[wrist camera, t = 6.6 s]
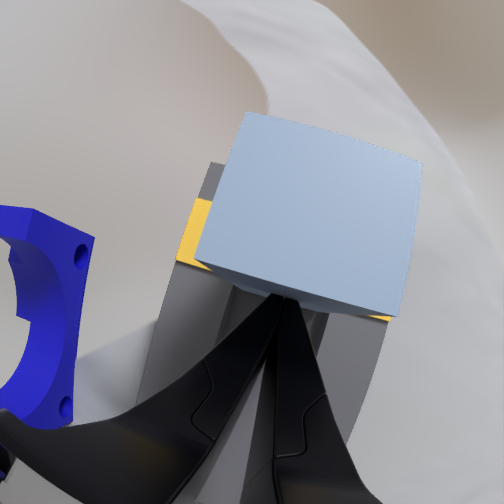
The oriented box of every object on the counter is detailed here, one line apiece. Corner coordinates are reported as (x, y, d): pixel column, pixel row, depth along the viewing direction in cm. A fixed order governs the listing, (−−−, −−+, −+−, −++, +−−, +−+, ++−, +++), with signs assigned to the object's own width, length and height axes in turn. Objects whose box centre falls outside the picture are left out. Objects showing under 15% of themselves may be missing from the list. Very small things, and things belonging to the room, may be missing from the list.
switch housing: (294, 516, 13) (296, 542, 11) (135, 468, 14) (117, 487, 12) (391, 230, 16) (411, 217, 13) (219, 181, 17) (210, 160, 14)
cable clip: (45, 229, 18) (-15, 203, 12) (95, 237, 17) (33, 208, 11) (26, 396, 16) (-32, 411, 10) (74, 420, 15) (15, 447, 9)
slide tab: (316, 311, 14) (397, 317, 5) (243, 290, 15) (193, 257, 5) (333, 251, 15) (422, 162, 5) (261, 230, 15) (246, 111, 6)
